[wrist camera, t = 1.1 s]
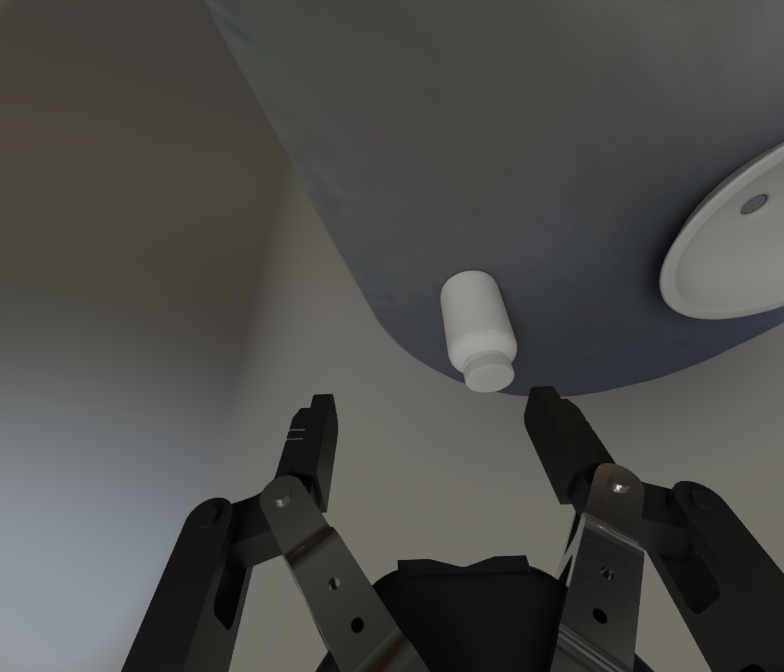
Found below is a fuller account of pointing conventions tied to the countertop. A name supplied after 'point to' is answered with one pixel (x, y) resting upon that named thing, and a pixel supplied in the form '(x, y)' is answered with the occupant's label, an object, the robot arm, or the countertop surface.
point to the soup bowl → (731, 247)
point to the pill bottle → (478, 331)
